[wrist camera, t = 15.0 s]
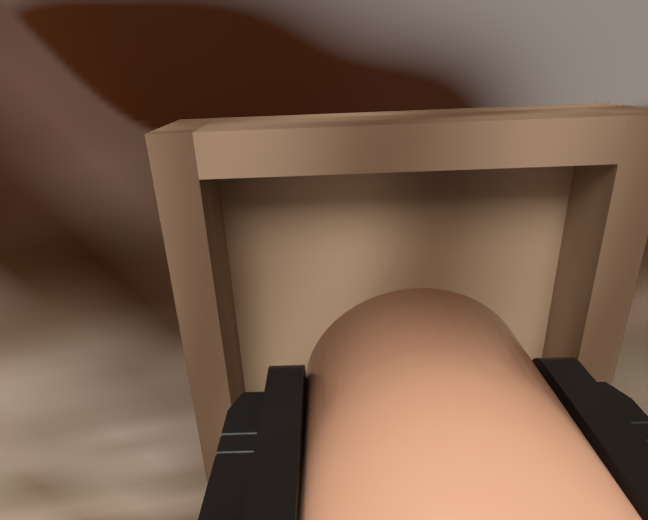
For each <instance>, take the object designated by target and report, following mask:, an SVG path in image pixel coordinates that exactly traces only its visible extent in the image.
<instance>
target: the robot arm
mask: <svg viewBox="0 0 648 520" xmlns="http://www.w3.org/2000/svg"><path fill="white" fill-rule="evenodd" d="M532 361H533V363H534V364H535V366H536V367H537V369H538V370H539V371H540V373H541V374H542V376H543V377H544V379H545V380H546V382H547V383H548V384H549V386H550V387H551V389H552V390H553V392H554V393H555V395H556V396H557V397H558V399H559V400H560V402H561V403H562V405H563V406H564V408H565V409H566V410H567V412H568V413H569V415H570V416H571V418H572V419H573V421H574V422H575V423H576V425H577V426H578V428H579V429H580V431H581V432H582V434H583V435H584V436H585V438H586V439H587V441H588V442H589V444H590V445H591V447H592V448H593V449H594V451H595V452H596V454H597V455H598V457H599V458H600V459H601V461H602V462H603V464H604V465H605V467H606V468H607V470H608V471H609V472H610V474H611V475H612V477H613V478H614V480H615V481H616V483H617V484H618V485H619V487H620V488H621V490H622V491H623V493H624V494H625V496H626V497H627V498H628V500H629V501H630V503H631V504H632V506H633V507H634V509H635V510H636V511H637V513H638V514H639V516H640V517H641V519H642V520H648V416H647V415H646V414H645V413H644V412H643V411H642V410H641V408H640V407H639V406H638V405H637V404H636V403H635V402H634V401H633V400H632V399H631V398H630V397H628V396H627V395H625V394H624V393H622V392H620V391H619V390H617V389H616V388H614V387H613V386H611V385H610V384H608V383H607V382H596V380H595V379H594V378H593V377H592V376H591V374H590V373H589V372H588V371H587V370H586V369H585V367H584V366H583V365H582V364H581V363H580V362H579V361H578V360H577V359H576V358H574V357H552V358H534V359H533V360H532ZM305 390H306V369H305V365H282V366H269V368H268V373H267V379H266V384H265V390H264V392H243V393H242V394H241V395H240V396H239V397H238V399H237V400H236V401H235V402H234V403H233V405H232V406H231V407H230V408H229V409H228V411H227V414H226V418H225V422H224V425H223V429H222V436H221V437H220V440H219V444H218V448H217V455H215V459H214V463H213V466H212V470H211V474H210V478H209V481H208V485H207V489H206V492H205V496H204V500H203V504H202V507H201V511H200V515H199V518H198V520H299V509H300V489H301V469H302V450H303V430H304V410H305Z"/></svg>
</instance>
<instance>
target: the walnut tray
mask: <svg viewBox="0 0 648 520" xmlns="http://www.w3.org/2000/svg"><path fill="white" fill-rule="evenodd" d="M145 139H146V145H147V150H148V156H149V161H150V167H151V172H152V178H153V183H154V189H155V194H156V200H157V205H158V211H159V216H160V222H161V228H162V233H163V239H164V244H165V250H166V255H167V261H168V266H169V272H170V277H171V283H172V288H173V294H174V300H175V305H176V311H177V316H178V322H179V327H180V333H181V338H182V344H183V349H184V355H185V360H186V366H187V371H188V377H189V383H190V388H191V394H192V399H193V405H194V410H195V416H196V421H197V427H198V432H199V438H200V443H201V449H202V454H203V460H204V466H205V471H206V477H207V482H208V481H209V478H210V474H211V470H212V466H213V463H214V459H215V455H217V448H218V444H219V440H220V437H221V436H222V429H223V425H224V422H225V418H226V414H227V411H228V409H229V408H230V407H231V406H232V405H233V403H234V402H235V401H236V400H237V399H238V397H239V396H240V395H241V394H242V393H243V392H264V390H265V384H266V379H267V373H268V368H269V366H282V365H305V369H306V370H307V365H308V362H309V359H310V356H311V353H312V351H313V349H314V347H315V346H316V344H317V342H318V340H319V339H320V338H321V336H322V335H323V333H324V332H325V331H326V330H327V329H328V328H329V327H330V326H331V324H332V323H333V322H334V321H335V320H337V319H338V318H339V317H340V316H342V315H343V314H344V313H345V312H347V311H348V310H350V309H352V308H353V307H355V306H356V305H358V304H360V303H362V302H364V301H366V300H368V299H370V298H373V297H376V296H379V295H382V294H385V293H388V292H393V291H398V290H403V289H413V288H434V289H441V290H447V291H452V292H455V293H459V294H463V295H465V296H467V297H470V298H472V299H475V300H477V301H478V302H480V303H482V304H484V305H485V306H487V307H489V308H490V309H491V310H492V311H493V312H495V313H496V314H497V315H498V316H499V317H500V318H501V319H502V320H503V321H504V322H505V323H506V324H507V325H508V327H509V328H510V330H511V331H512V333H513V334H514V335H515V337H516V338H517V340H518V341H519V343H520V344H521V346H522V347H523V348H524V350H525V351H526V353H527V354H528V356H529V357H530V358H531V360H533V359H534V358H552V357H574V358H576V359H577V360H578V361H579V362H580V363H581V364H582V365H583V366H584V367H585V369H586V370H587V371H588V372H589V373H590V374H591V376H592V377H593V378H594V379H595V380H596V382H607V383H608V384H610V385H612V381H613V377H614V372H615V368H616V364H617V360H618V356H619V352H620V348H621V344H622V339H623V335H624V331H625V327H626V323H627V319H628V315H629V311H630V307H631V302H632V298H633V294H634V290H635V286H636V282H637V278H638V274H639V269H640V265H641V261H642V257H643V253H644V249H645V245H646V241H647V236H648V109H644V108H637V107H631V106H624V105H618V104H611V103H594V104H569V105H543V106H521V107H520V106H518V107H492V108H466V109H442V110H441V109H440V110H415V111H389V112H363V113H338V114H312V115H287V116H261V117H238V118H237V117H236V118H211V119H184V120H178V121H175V122H173V123H171V124H168V125H166V126H163V127H161V128H158V129H156V130H154V131H151V132H149V133H146V134H145Z"/></svg>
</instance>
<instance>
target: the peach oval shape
mask: <svg viewBox="0 0 648 520" xmlns="http://www.w3.org/2000/svg"><path fill="white" fill-rule="evenodd" d="M299 520H642V519H641V517H640V516H639V514H638V513H637V511H636V510H635V509H634V507H633V506H632V504H631V503H630V501H629V500H628V498H627V497H626V496H625V494H624V493H623V491H622V490H621V488H620V487H619V485H618V484H617V483H616V481H615V480H614V478H613V477H612V475H611V474H610V472H609V471H608V470H607V468H606V467H605V465H604V464H603V462H602V461H601V459H600V458H599V457H598V455H597V454H596V452H595V451H594V449H593V448H592V447H591V445H590V444H589V442H588V441H587V439H586V438H585V436H584V435H583V434H582V432H581V431H580V429H579V428H578V426H577V425H576V423H575V422H574V421H573V419H572V418H571V416H570V415H569V413H568V412H567V410H566V409H565V408H564V406H563V405H562V403H561V402H560V400H559V399H558V397H557V396H556V395H555V393H554V392H553V390H552V389H551V387H550V386H549V384H548V383H547V382H546V380H545V379H544V377H543V376H542V374H541V373H540V371H539V370H538V369H537V367H536V366H535V364H534V363H533V361H532V360H531V358H530V357H529V356H528V354H527V353H526V351H525V350H524V348H523V347H522V346H521V344H520V343H519V341H518V340H517V338H516V337H515V335H514V334H513V333H512V331H511V330H510V328H509V327H508V325H507V324H506V323H505V322H504V321H503V320H502V319H501V318H500V317H499V316H498V315H497V314H496V313H495V312H493V311H492V310H491V309H490V308H489V307H487V306H485V305H484V304H482V303H480V302H478V301H477V300H475V299H472V298H470V297H467V296H465V295H463V294H459V293H455V292H452V291H447V290H441V289H434V288H413V289H403V290H398V291H393V292H388V293H385V294H382V295H379V296H376V297H373V298H370V299H368V300H366V301H364V302H362V303H360V304H358V305H356V306H355V307H353V308H352V309H350V310H348V311H347V312H345V313H344V314H343V315H342V316H340V317H339V318H338V319H337V320H335V321H334V322H333V323H332V324H331V326H330V327H329V328H328V329H327V330H326V331H325V332H324V333H323V335H322V336H321V338H320V339H319V340H318V342H317V344H316V346H315V347H314V349H313V351H312V353H311V356H310V359H309V362H308V365H307V370H306V390H305V410H304V430H303V450H302V469H301V489H300V509H299Z"/></svg>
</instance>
